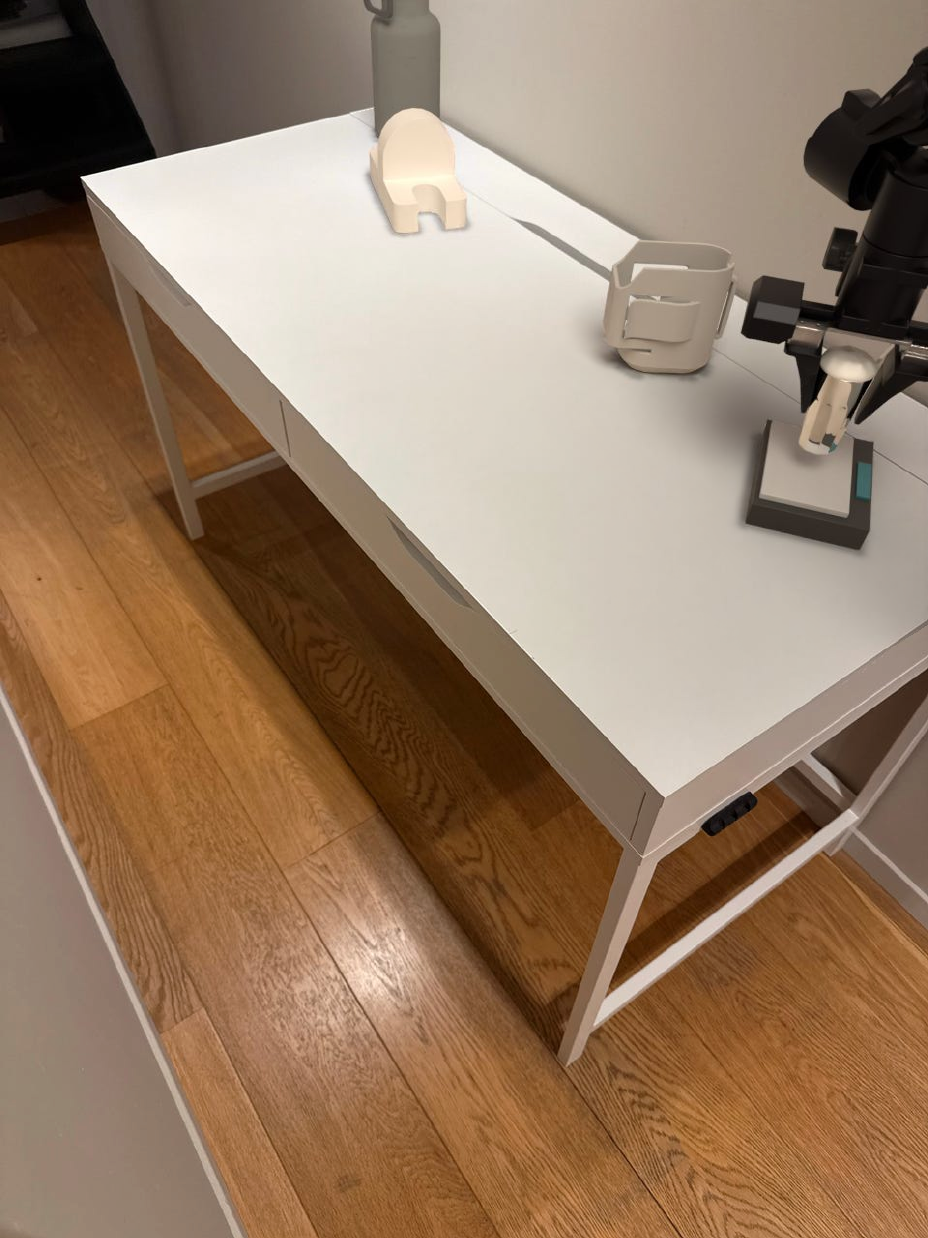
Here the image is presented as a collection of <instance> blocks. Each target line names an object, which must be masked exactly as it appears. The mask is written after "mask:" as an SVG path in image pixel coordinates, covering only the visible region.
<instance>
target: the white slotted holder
mask: <svg viewBox="0 0 928 1238" xmlns="http://www.w3.org/2000/svg"><path fill="white" fill-rule="evenodd" d="M377 139H378V140H377V146H373V147H370V148H369V149H368V151H369V153H368V154H369V172H370V174H369V175H370V179H371V182H372V184H373V186H374V189H375V191H376V193H377V196H378V198H379V201H380V202H381V205H382V208H383V209H384V212H385V213H386V216H387V218H388V221H389V223H390V224H391V227H392V229H393V231H394V232H395V233H397V234H412V233H419V213H433V214H434V215H437V216H438V217H439V219H440V221H441V223H442V225H443V227H444V229H445V230H454V229H462V228H464V227H465V226H466V225H467V199H468V196H467V194H466V192H465V190H464V189H463V187H462V185H461V183H460V182H459V179H458V178H457V177H456V150H455V145H454V142H453V139H452V137H451V134H450V133H449V132H448V130H447V128H446V127H445V125H444V124H443V122H442V121H441V119H440V120H439V118H437V117H436V116H435V115H434V114H432V113H431V112H429V111H426V110H424V109H417V108H411V109H406V110H402V111H401V112H399V113H397V114H395V115H394V116H393V117H391V118H390V119H389V120H388V121H387V122H386V124H385V126H384V127H383V129H382V130H381V133H380V136H378V138H377Z"/></svg>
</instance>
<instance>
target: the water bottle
mask: <svg viewBox="0 0 928 1238" xmlns="http://www.w3.org/2000/svg"><path fill="white" fill-rule="evenodd" d="M380 2H381V3H380V4H381V8H377V7H376V6H374V5H373V4H372V2H371V0H363V5H364V8H365V9H366V11H368V12H369V13H372V14H373V15H374V16H373V18H372V20H371V23H370V44H371V46H370V47H371V68H372V88H373V89H372V90H373V93H372V94H373V114H374V115H373V116H374V118H373V119H374V130H375V133H376V135H377V137H379V136H380V133H381V130H382V129H383V127H384V126H385V124H386V122H387V121H388V120H389V119H390V118H391V117H393V116H394V115H395V114H397V113H399V112H401V111H402V110H406V109H411V108H417V109H424V110H426V111H429V112H431V113H432V114H434V115H435V116H436V117H437V118H439V120H440V121H441V35H442V34H441V32H442V31H441V23H440V21H439V19H438V17H437V16H436V15H435V14H434V13H433V12H432V11H431V10H430V0H380Z"/></svg>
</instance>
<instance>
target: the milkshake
mask: <svg viewBox="0 0 928 1238" xmlns="http://www.w3.org/2000/svg"><path fill="white" fill-rule="evenodd" d="M890 345H891V346H890ZM890 345H889V346H888V348H887V349H886V350H885V351H883V353H882V354H881V355H880V356H879V357H878V358H877V360H875V359H874V357H873V356H872V355H871V354H870V353H869V352H868V351H866V350H864V349H862V348H859V347H856V346H853V345H849V344H848V345H847V344H846V345H835V346H831V347H829V348H828V349H825V351H824V352H822V357H821V361H820V365H819V369H818V374H817V378H816V382H815V386H814V390H813V394H812V399H811V402H810V405H809V407H808V409H807V411H806V413H805V414H804V418H803V422H802V425H801V427H802V428H801V431H800V435H799V444H800V445H801V446H802V447H803V449H804V450H806V451H809V452H811V453H814V454H825V455H827V454H829V453H831V452H833V451H834V450H835V449H836V447H837V445H838V443H839V441H840V439H841V438H842V436H844V433H845V432H846V430H847V428H848V426H849V424H850V422H851V420H852V418H853V417H854V414H856V412H857V410H858V408H859V405H860V403H861V401H862V399H863V397H864V395H865V393H866V392H867V390H868V388H869V386H870V385H871V383H872V381H873V379H874V377H875V376H876V374H877V372H878V366H879V364H880V363H881V362H883V361H884V360H885V357H886V355H887V354H888V353H889V352H890V351H891V350H892V349H893V348H894V347H895V344H893V343H892V344H891V343H890Z"/></svg>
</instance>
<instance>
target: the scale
mask: <svg viewBox="0 0 928 1238" xmlns="http://www.w3.org/2000/svg"><path fill="white" fill-rule="evenodd" d="M801 428H802V425H801V426H800V425H796V424H791V423H786V422H782V421H776V420H772V419H766V423H765V424H764V428H763V430H762V434H761V437H760V439H759V440H760V441H759V445H758V451H757V456H756V461H755V468H754V472H753V478H752V479H753V480H752V484H751V489H750V496H749V502H748V506H747V513H746V517H745V524H747V525H750V526H754V527H755V526H756V527H759V528H764V529H766V530H771V531H775V532H780V533H784V534H789V535H792V536H797V537H802V538H806V539H811V540H813V541H819V542H822V543H826V544H831V545H835V546H839V547H843V548H848V549H853V550H855V551H861V549H862V547H863V545H864V543H865V541H866V540H867V538H868V535H869V534H870V531H871V517H872V516H871V513H872V512H871V511H872V489H873V466H874V465H873V463H874V443H875V442H874V441H870V440H865V439H861V438H856V437H851V436H848V435H843V436H842V438H841V439H840V441H839V443H838V445H837V447H836V449H835V450H834V451H833V452H831V453H829V454H827V455H825V454H814V453H811V452H809V451H806V450H804V449H803V447H802V446H801V445H800V444H799V435H800V431H801Z"/></svg>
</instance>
